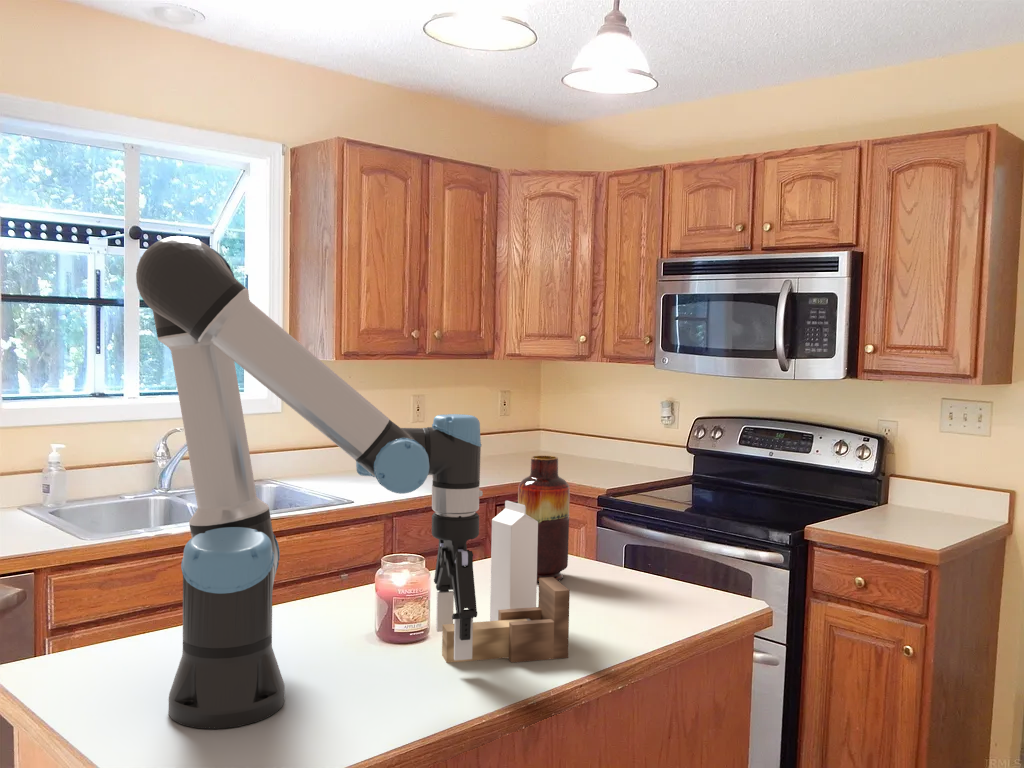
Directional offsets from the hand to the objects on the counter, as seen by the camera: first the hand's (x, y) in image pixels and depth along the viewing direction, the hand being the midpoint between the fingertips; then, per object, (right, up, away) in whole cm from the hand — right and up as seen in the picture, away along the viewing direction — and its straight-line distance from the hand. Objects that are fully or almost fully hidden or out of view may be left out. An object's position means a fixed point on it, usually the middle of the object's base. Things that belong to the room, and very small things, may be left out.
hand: (453, 644), depth 141 cm
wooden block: (+5, -2, +2) cm, 6 cm away
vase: (+16, 0, +49) cm, 52 cm away
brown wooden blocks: (+13, -2, +4) cm, 13 cm away
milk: (+9, -2, +17) cm, 20 cm away
